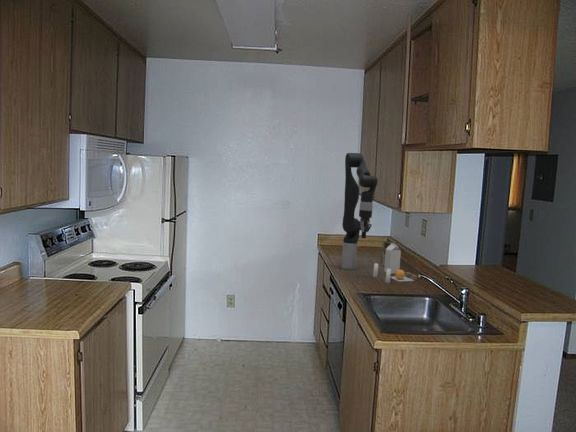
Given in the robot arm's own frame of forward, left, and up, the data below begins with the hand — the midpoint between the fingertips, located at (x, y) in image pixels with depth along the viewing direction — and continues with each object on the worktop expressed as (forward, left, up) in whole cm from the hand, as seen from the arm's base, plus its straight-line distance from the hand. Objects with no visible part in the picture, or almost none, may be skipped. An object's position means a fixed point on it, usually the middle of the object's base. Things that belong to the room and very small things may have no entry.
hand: (363, 238), depth 287 cm
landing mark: (+3, +26, -25) cm, 36 cm away
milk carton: (-14, +29, -25) cm, 41 cm away
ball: (+4, +25, -22) cm, 33 cm away
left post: (-4, +12, -25) cm, 28 cm away
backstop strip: (+3, +33, -25) cm, 41 cm away
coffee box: (-34, +38, -25) cm, 57 cm away
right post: (+11, +12, -25) cm, 30 cm away
